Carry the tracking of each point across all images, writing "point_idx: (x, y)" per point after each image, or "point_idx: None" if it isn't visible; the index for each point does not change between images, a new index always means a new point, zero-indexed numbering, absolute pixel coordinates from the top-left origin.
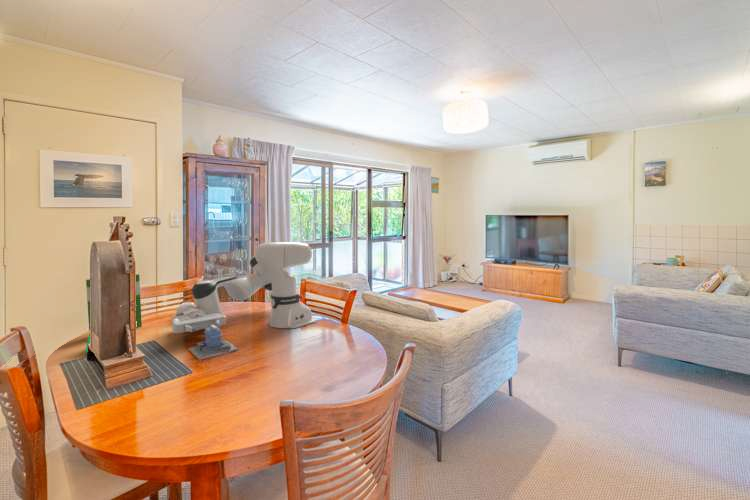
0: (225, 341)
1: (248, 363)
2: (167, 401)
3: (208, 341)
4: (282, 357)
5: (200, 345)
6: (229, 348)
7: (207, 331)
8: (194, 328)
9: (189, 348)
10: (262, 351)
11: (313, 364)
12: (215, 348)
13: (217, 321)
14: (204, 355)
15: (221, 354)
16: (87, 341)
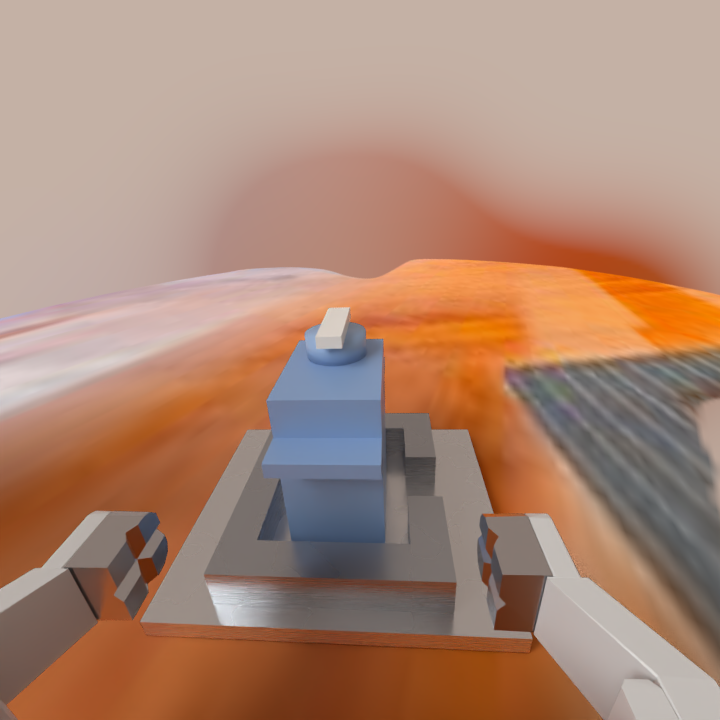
0: (177, 591)
1: None
2: (561, 309)
3: (384, 435)
4: (208, 345)
5: (436, 499)
6: None
7: (382, 373)
8: (486, 520)
9: (529, 634)
10: (193, 392)
11: (208, 310)
12: None
13: (31, 584)
14: (433, 437)
15: None
16: None
